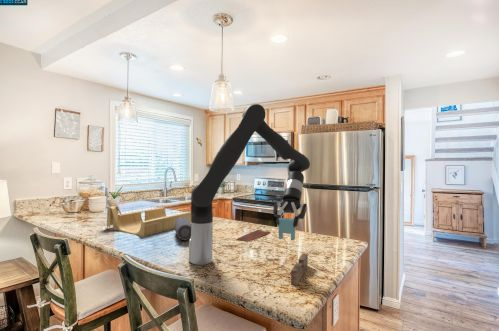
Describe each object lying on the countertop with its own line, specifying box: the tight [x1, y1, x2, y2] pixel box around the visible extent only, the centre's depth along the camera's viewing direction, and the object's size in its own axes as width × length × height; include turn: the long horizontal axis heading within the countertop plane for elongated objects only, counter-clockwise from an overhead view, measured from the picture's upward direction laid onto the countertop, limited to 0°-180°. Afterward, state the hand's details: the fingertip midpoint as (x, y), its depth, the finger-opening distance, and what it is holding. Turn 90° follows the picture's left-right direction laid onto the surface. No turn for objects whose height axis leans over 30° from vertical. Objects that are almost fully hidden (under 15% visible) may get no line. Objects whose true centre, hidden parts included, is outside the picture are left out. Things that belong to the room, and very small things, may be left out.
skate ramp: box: [106, 202, 191, 237], centre depth 179 cm, size 40×35×16 cm
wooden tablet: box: [235, 229, 271, 243], centre depth 158 cm, size 27×10×2 cm, turn 147°
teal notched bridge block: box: [278, 217, 296, 241], centre depth 105 cm, size 6×2×8 cm, turn 68°
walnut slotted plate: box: [290, 252, 309, 286], centre depth 102 cm, size 2×20×5 cm, turn 158°
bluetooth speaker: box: [174, 217, 191, 241], centre depth 153 cm, size 23×9×10 cm, turn 19°
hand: (286, 225), depth 104 cm, fingers closed on teal notched bridge block, 6 cm apart
